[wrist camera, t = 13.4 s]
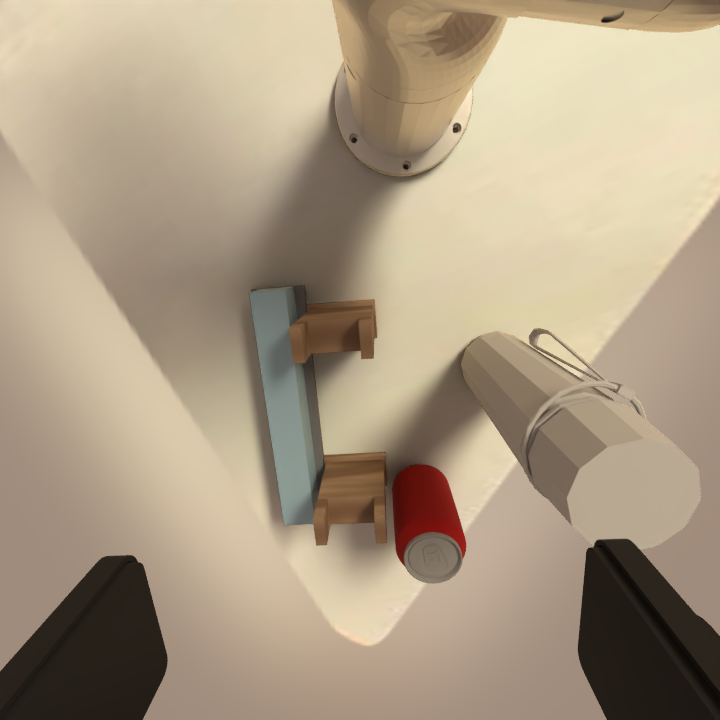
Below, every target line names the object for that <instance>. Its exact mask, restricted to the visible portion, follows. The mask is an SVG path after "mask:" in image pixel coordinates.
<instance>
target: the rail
mask: <svg viewBox="0 0 720 720" xmlns="http://www.w3.org/2000/svg"><path fill="white" fill-rule="evenodd" d="M249 296H250V302H251V309H252V316H253V322H254V329H255V335H256V342H257V349H258V355H259V362H260V368H261V375H262V382H263V388H264V395H265V401H266V408H267V415H268V421H269V428H270V435H271V441H272V448H273V454H274V461H275V468H276V474H277V481H278V487H279V494H280V501H281V507H282V514H283V520H284V525H299V524H314V523H313V516H314V512H315V508H316V503H317V499H318V495H319V491H318V483H317V475H316V467H315V458H314V450H313V442H312V434H311V426H310V418H309V409H308V401H307V393H306V385H305V377H304V368H303V363H296V364H293V358H292V350H291V342H290V334H289V328H290V327H291V326H292V325H293V324H294V323H295V322H296V321H297V320H298V319H297V311H296V303H295V295H294V287H293V286H291V287H279V288H266V289H259V290H256V291H253V292H250V293H249Z"/></svg>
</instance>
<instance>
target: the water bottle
mask: <svg viewBox="0 0 720 720" xmlns="http://www.w3.org/2000/svg"><path fill="white" fill-rule="evenodd" d="M540 334H549V335H551V336H552V337H553V338H554V339H555V340H557V341H558V342H559V343H560V344H561V345H562V346H564V347H565V348H566V349H567V350H568V351H569V352H571V353H572V354H573V355H574V356H575V357H576V358H578V359H579V360H580V361H581V362H582V363H584V364H585V365H586V366H587V367H588V368H589V369H591V370H592V371H593V372H594V373H595V374H597V375H598V376H599V377H600V378H601V379H602V381H601V380H599V379H597V378H595V377H593V376H591V375H589V374H588V373H586V372H584V371H582V370H580V369H578V368H577V367H575V366H573V365H571V364H569V363H567V362H566V361H564V360H562V359H560V358H558V357H556V356H554V355H553V354H551V353H549V352H547V351H545V350H543V349H541V348H540V347H538V346H537V342H538V338H539V335H540ZM529 342H530V344H531V345H532V346H533V347H535V348H536V349H538V350H540V351H541V352H543V353H545V354H547V355H549V356H551V357H553V358H555V359H557V360H559V361H561V362H562V363H564V364H566V365H568V366H570V367H572V368H574V369H576V370H578V371H580V372H582V373H584V374H585V375H587V376H589V377H591V378H593V379H595V380H597V381H586V382H585V381H583V380H582V379H580V378H579V377H577V376H576V375H574V374H572V373H571V372H569V371H568V370H566V369H565V368H563V367H562V366H560V365H558V364H557V363H555V362H554V361H552V360H551V359H549V358H547V357H546V356H544V355H543V354H541V353H540V352H538V351H536V350H535V349H533V348H532V347H530V346H529V345H527V344H526V343H524V342H522V341H521V340H519V339H518V338H516V337H515V336H513V335H509V334H505V333H501V332H497V331H496V332H492V333H489V334H485V335H481V336H479V337H478V338H476V339H475V340H474V341H473V342H472V343H471V344H470V345H469V346H468V347H467V348H466V350H465V353H464V356H463V359H462V362H461V368H462V372H463V376H464V380H465V382H466V383H467V385H468V386H469V388H470V389H471V391H472V392H473V394H474V395H475V397H476V398H477V400H478V401H479V403H480V404H481V406H482V407H483V409H484V410H485V412H486V413H487V415H488V416H489V418H490V419H491V421H492V422H493V424H494V425H495V427H496V428H497V430H498V431H499V433H500V434H501V436H502V437H503V439H504V440H505V442H506V443H507V445H508V446H509V448H510V449H511V451H512V452H513V454H514V455H515V457H516V458H517V460H518V461H519V463H520V464H521V466H522V467H523V469H524V471H525V473H526V475H527V476H528V478H529V481H530V482H531V483H532V484H533V486H534V488H535V489H537V491H538V492H539V493H541V494H542V495H543V496H544V497H546V498H547V499H548V500H550V502H551V503H552V504H553V505H554V506H555V507H556V508H557V510H558V511H559V512H560V513H561V514H562V515H563V516H564V517H565V518H566V520H567V521H568V522H569V523H570V524H571V525H572V526H573V527H574V528H575V529H576V530H577V531H578V532H579V533H580V534H581V535H582V536H583V537H584V538H585V539H587V540H588V541H589V542H590V543H591V544H592V545H593V546H594V544H595V542H596V540H599V539H629V540H631V541H632V542H633V543H634V544H635V545H636V546H637V547H638V548H639V549H645V548H649V547H655V546H658V545H659V544H661V543H662V542H664V541H665V540H667V539H668V538H670V537H671V536H673V535H674V534H675V533H677V532H678V531H680V530H681V529H683V528H684V527H685V526H686V525H687V523H688V521H689V520H690V518H691V516H692V514H693V512H694V510H695V509H696V507H697V505H698V503H699V501H700V499H701V490H700V480H699V469H698V468H697V467H696V466H695V465H694V464H693V462H692V461H691V460H690V459H689V458H688V457H687V456H686V455H685V454H684V453H683V452H682V451H681V450H680V449H679V448H678V447H677V446H676V445H675V444H674V443H672V442H671V441H670V440H669V439H668V438H667V437H666V436H664V435H663V434H662V433H661V432H660V431H658V430H657V429H656V428H655V427H654V426H652V425H651V424H650V423H649V422H648V421H647V418H646V415H645V412H644V409H643V406H642V404H641V402H640V401H638V400H637V399H636V398H635V397H634V395H635V394H636V392H634V391H632V390H631V389H629V388H627V387H625V386H624V385H621V384H617V383H613V382H609V381H608V380H607V379H606V378H605V377H604V376H602V375H601V374H600V373H599V372H598V371H597V370H595V369H594V368H593V367H592V366H591V365H590V364H588V363H587V362H586V361H585V360H584V359H583V358H581V357H580V356H579V355H578V354H577V353H576V352H574V351H573V350H572V349H571V348H570V347H569V346H567V345H566V344H565V343H564V342H563V341H562V340H560V339H559V338H558V337H557V336H556V335H555V334H553V333H551V332H549V331H547V330H544V329H541V328H538V329H534V330H533V331H532V332H531V334H530V335H529ZM594 387H604V388H608V389H610V390H611V391H613V392H615V393H617V394H619V395H621V396H623V397H624V398H626V399H628V400H629V401H630V402H631V403H632V404H633V405H634V407H635V408H636V410H637V412H638V413H637V412H636V411H635V410H633V409H632V408H631V407H630V406H626V405H623V404H622V403H619V402H615V401H614V400H613V399H612V398H610V397H608V396H607V395H605V394H604V393H602V392H601V391H599V390H598V389H596V388H594Z"/></svg>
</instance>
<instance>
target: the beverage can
mask: <svg viewBox="0 0 720 720" xmlns="http://www.w3.org/2000/svg"><path fill="white" fill-rule="evenodd" d="M392 493H393V514H394V530H395V543H396V552H397V555H398V558H399V559H400V561H401V562H402V564H403V565H404V566H405V567H406V569H407V571H408V572H409V573H410V574H411V575H412V576H413V577H414V578H416V579H417V580H419V581H422V582H426V583H440V582H444V581H447V580H449V579H450V578H452V577H453V576H454V575H455V574H456V573H457V572H458V571H459V569H460V567H461V564H462V559H463V557H464V555H465V551H466V540H465V536H464V533H463V530H462V526H461V523H460V519H459V516H458V513H457V509H456V506H455V503H454V500H453V496H452V493H451V490H450V487H449V484H448V481H447V479H446V477H445V476H444V475H443V473H442V472H440V471H439V470H438V469H436V468H434V467H432V466H429V465H413V466H410V467H408V468H406V469H404V470H403V471H401V472H400V473H399V474H398V475H397V477H396V478H395V480H394V483H393V487H392Z"/></svg>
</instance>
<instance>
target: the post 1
mask: <svg viewBox="0 0 720 720" xmlns="http://www.w3.org/2000/svg"><path fill="white" fill-rule="evenodd" d="M306 308H307V312H306V313H305V314H304V315H303V316H302V317H301V318H300V319H298V320H297V321H296V322H295V323H294V324H293V325H292V326H291V327H290V328H289V334H290V342H291V350H292V358H293V364H296V363H305V362H306V361H307V359H308V357H309V356H310V354H315V353H330V352H345V351H360V350H361V359H372V358H374V338H377V329H376V315H375V300H374V299H372V300H359V301H345V302H332V303H319V304H307V305H306Z"/></svg>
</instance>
